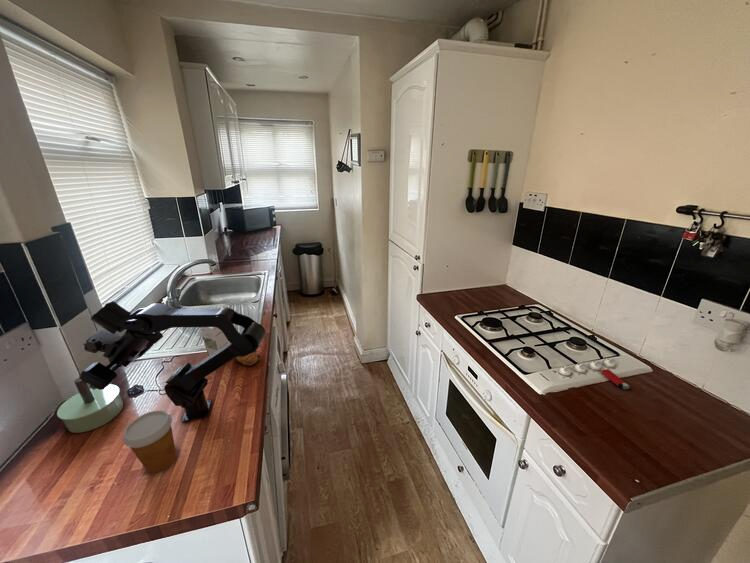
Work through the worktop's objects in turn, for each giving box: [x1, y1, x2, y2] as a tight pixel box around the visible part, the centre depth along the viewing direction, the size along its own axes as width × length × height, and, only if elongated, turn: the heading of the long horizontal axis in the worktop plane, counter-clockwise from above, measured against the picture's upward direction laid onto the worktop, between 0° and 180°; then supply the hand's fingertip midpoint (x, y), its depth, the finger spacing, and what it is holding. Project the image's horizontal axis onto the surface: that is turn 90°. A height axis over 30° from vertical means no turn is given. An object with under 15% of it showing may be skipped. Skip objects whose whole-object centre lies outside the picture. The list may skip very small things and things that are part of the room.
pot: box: [62, 393, 124, 434], centre depth 89 cm, size 13×13×5 cm
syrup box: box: [199, 327, 229, 357], centre depth 113 cm, size 6×6×14 cm
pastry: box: [235, 350, 259, 366], centre depth 112 cm, size 9×7×4 cm
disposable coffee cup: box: [122, 410, 177, 474], centre depth 73 cm, size 10×10×12 cm
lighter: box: [600, 368, 630, 390], centre depth 98 cm, size 3×1×8 cm
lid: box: [56, 377, 121, 421], centre depth 87 cm, size 14×14×9 cm
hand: (106, 376), depth 85 cm, fingers open, 9 cm apart
